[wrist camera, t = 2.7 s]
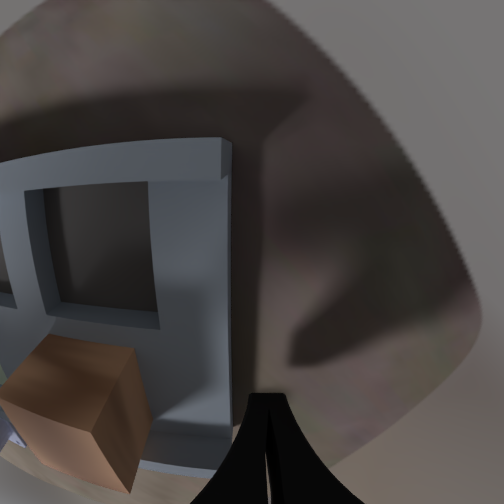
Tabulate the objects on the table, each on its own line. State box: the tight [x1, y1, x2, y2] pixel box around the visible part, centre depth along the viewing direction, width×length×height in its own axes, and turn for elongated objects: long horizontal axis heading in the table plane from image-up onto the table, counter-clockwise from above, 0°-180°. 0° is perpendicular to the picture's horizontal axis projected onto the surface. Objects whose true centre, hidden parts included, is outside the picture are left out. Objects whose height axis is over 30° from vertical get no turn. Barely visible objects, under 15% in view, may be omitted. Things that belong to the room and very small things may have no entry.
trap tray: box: [0, 137, 233, 478], centre depth 10 cm, size 22×14×4 cm, turn 89°
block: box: [0, 334, 153, 494], centre depth 9 cm, size 4×4×4 cm
